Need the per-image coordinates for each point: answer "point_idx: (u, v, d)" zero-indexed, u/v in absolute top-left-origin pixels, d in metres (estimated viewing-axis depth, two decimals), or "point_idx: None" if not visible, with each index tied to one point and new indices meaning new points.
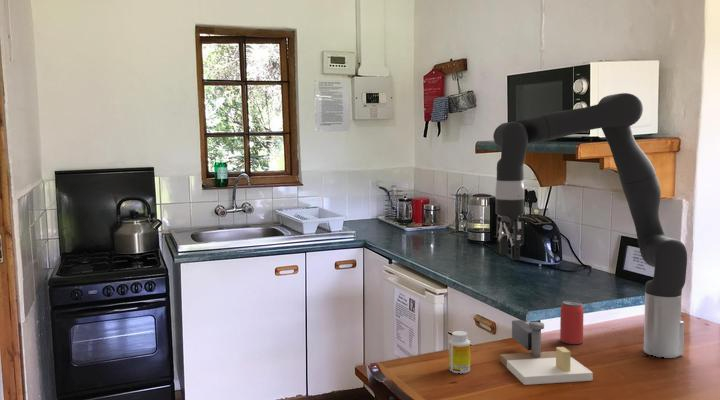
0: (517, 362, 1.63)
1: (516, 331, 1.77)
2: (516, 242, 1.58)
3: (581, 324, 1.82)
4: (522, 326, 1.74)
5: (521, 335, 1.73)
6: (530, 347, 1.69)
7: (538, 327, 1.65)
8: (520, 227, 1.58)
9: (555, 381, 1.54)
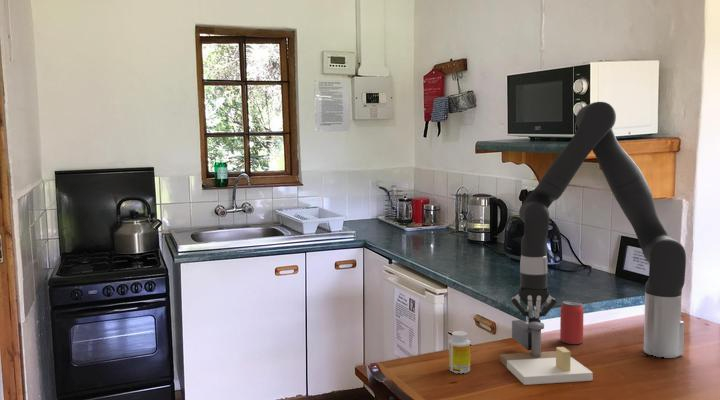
0: (517, 362, 1.63)
1: (516, 331, 1.77)
2: None
3: (581, 324, 1.82)
4: (522, 326, 1.74)
5: (521, 335, 1.73)
6: (530, 347, 1.69)
7: (538, 327, 1.65)
8: None
9: (555, 381, 1.54)
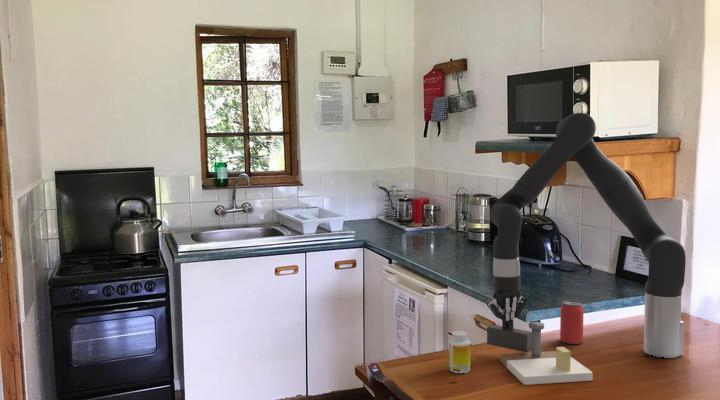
0: (517, 362, 1.63)
1: (498, 336, 1.73)
2: None
3: (581, 324, 1.82)
4: (508, 330, 1.71)
5: (510, 339, 1.70)
6: (527, 349, 1.68)
7: (538, 327, 1.65)
8: None
9: (555, 381, 1.54)
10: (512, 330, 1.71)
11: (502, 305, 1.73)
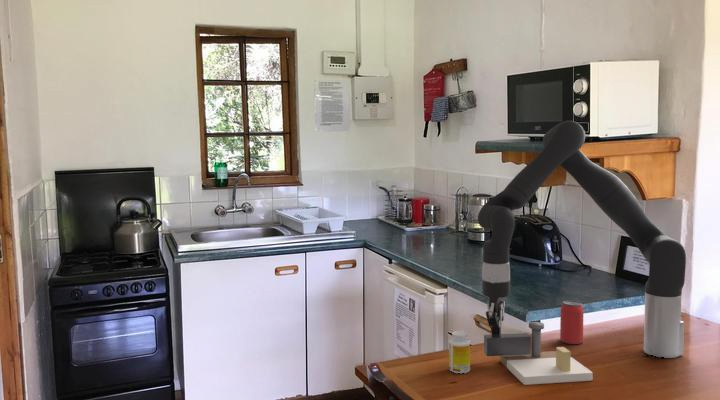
0: (517, 362, 1.63)
1: (500, 345, 1.65)
2: None
3: (581, 324, 1.82)
4: (509, 336, 1.66)
5: (513, 345, 1.65)
6: None
7: (538, 327, 1.65)
8: None
9: (555, 381, 1.54)
10: (512, 335, 1.66)
11: (497, 312, 1.66)
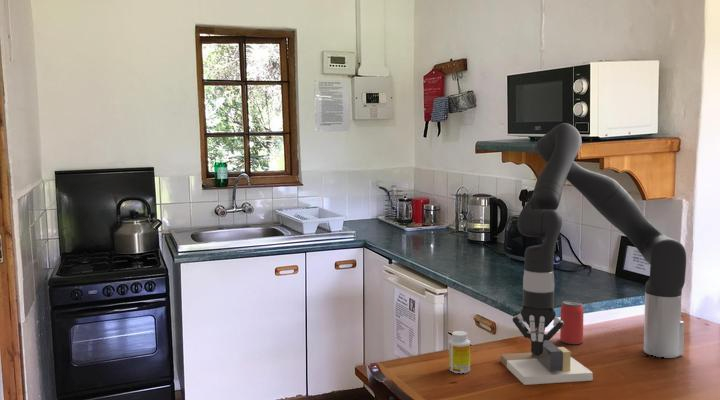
0: (517, 362, 1.63)
1: None
2: None
3: (581, 324, 1.82)
4: (550, 343, 1.59)
5: None
6: None
7: None
8: None
9: (555, 381, 1.54)
10: (547, 342, 1.60)
11: None
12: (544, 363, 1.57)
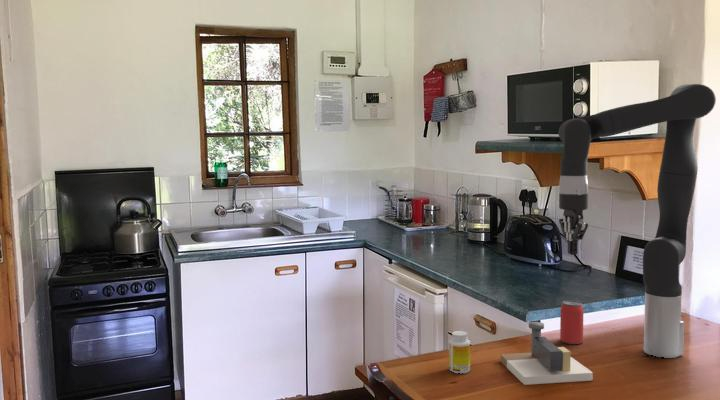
0: (517, 362, 1.63)
1: None
2: None
3: (581, 324, 1.82)
4: (550, 343, 1.59)
5: None
6: None
7: (538, 327, 1.65)
8: None
9: (555, 381, 1.54)
10: (547, 342, 1.60)
11: None
12: (544, 363, 1.57)
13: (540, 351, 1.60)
